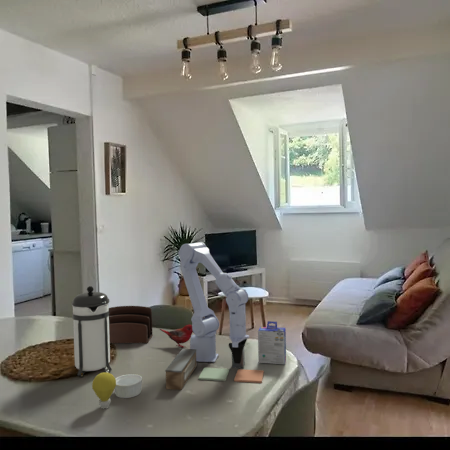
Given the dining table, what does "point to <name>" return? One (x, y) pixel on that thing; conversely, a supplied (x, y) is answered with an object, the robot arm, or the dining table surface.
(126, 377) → the ramekin
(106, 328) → the coffee press
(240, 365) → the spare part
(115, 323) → the letter holder
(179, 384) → the block
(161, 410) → the dining table surface
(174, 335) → the decorative bird figurine
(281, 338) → the ink cartridge box
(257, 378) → the terracotta mat
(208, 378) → the sage mat
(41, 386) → the dining table surface
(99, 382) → the light bulb
